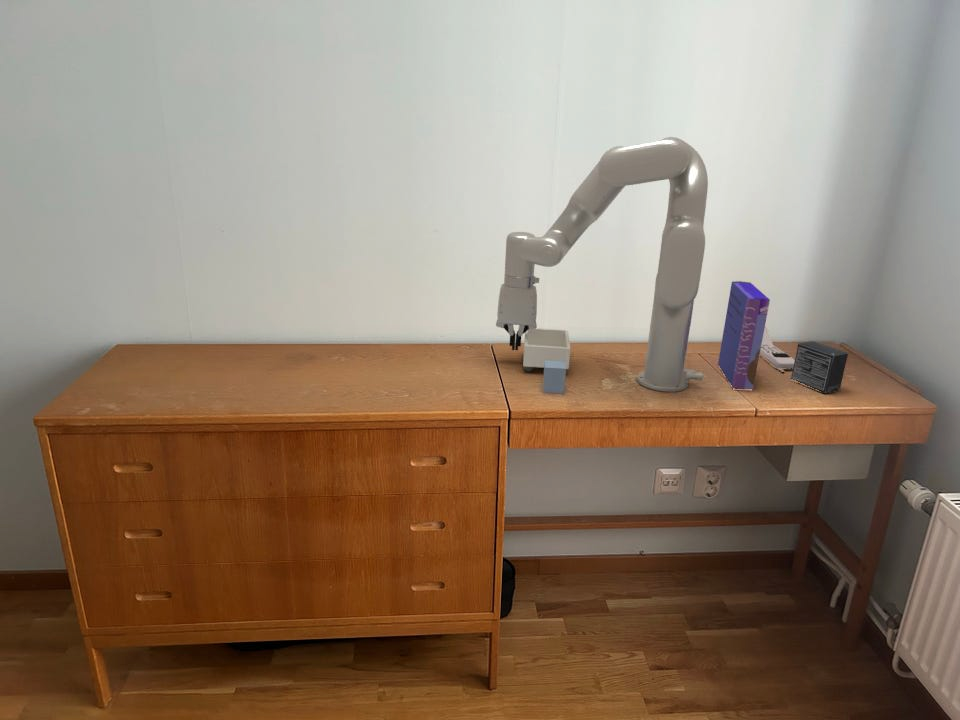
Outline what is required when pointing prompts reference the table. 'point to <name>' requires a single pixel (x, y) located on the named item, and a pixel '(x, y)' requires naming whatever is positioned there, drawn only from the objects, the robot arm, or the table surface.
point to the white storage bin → (545, 347)
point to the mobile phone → (775, 353)
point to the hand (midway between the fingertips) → (514, 348)
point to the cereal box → (743, 334)
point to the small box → (819, 366)
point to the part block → (554, 377)
